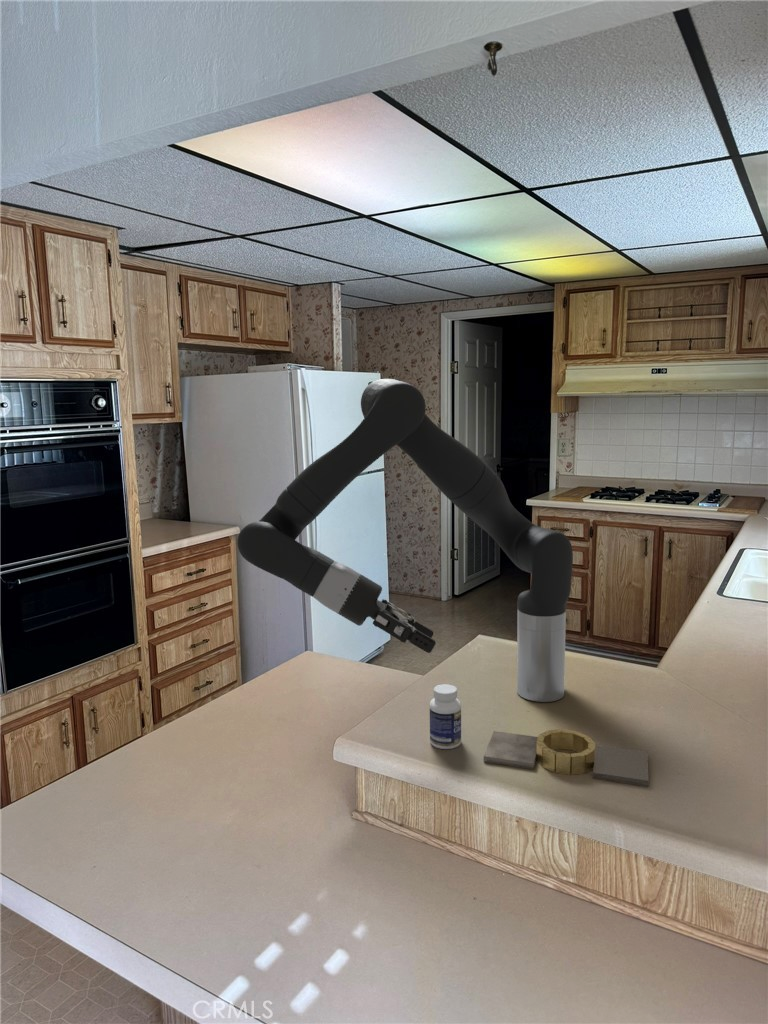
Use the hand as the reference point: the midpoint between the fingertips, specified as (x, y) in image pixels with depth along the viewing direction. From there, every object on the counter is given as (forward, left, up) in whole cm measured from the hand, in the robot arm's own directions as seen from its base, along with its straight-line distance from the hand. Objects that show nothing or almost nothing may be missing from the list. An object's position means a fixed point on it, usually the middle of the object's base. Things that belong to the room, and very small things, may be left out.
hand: (432, 642), depth 115 cm
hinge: (-2, +22, -19) cm, 29 cm away
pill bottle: (-2, +2, -19) cm, 19 cm away
